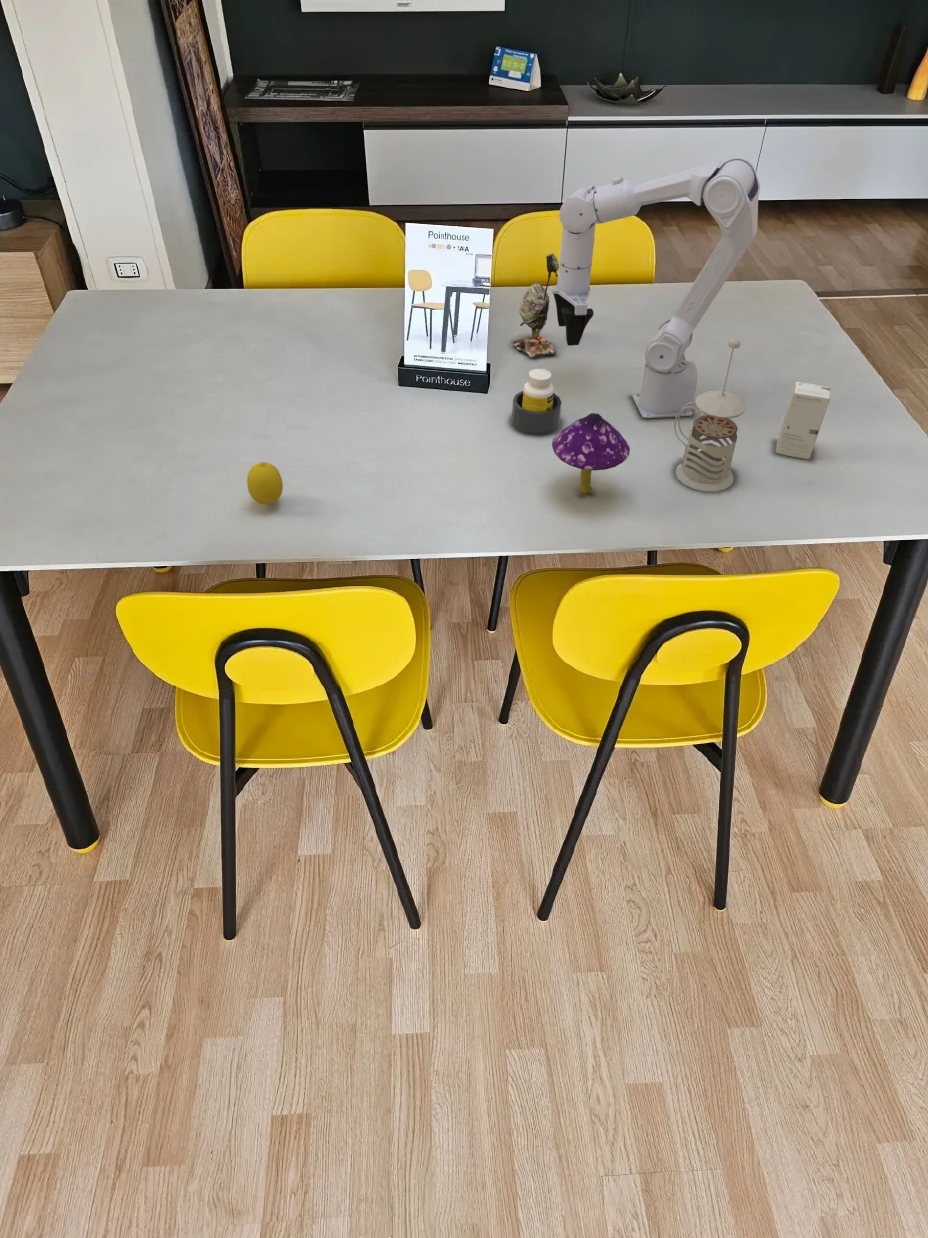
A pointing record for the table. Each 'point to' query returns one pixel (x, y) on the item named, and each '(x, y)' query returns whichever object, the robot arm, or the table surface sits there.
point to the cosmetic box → (803, 420)
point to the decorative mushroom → (590, 447)
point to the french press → (711, 438)
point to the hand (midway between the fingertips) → (568, 334)
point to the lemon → (264, 483)
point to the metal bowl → (535, 417)
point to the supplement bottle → (538, 391)
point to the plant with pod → (537, 314)
